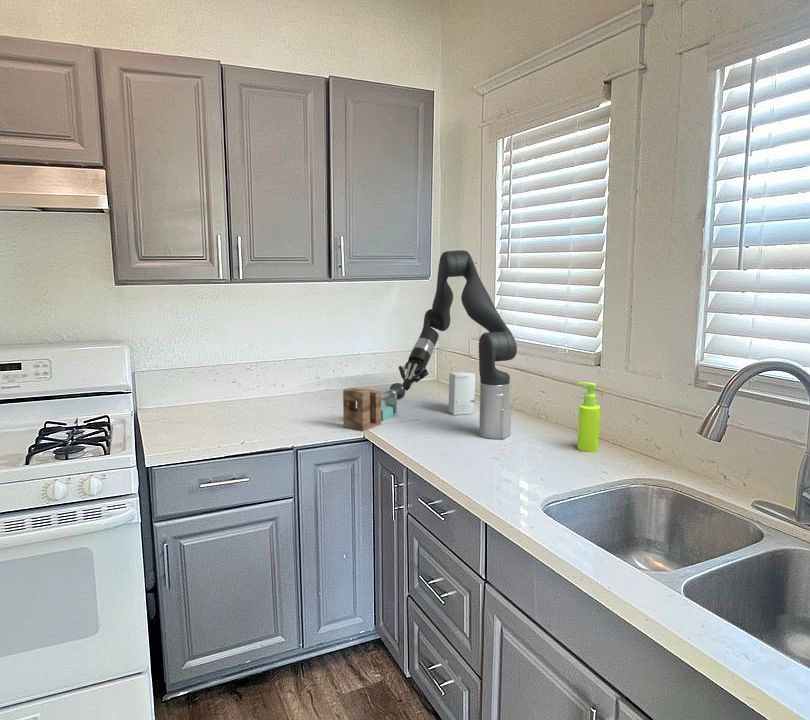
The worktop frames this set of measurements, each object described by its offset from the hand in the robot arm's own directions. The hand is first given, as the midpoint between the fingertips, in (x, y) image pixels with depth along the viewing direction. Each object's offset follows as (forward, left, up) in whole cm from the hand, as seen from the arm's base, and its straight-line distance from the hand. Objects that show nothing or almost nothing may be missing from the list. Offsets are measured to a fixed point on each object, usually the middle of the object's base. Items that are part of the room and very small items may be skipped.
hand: (404, 389), depth 226 cm
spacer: (0, +15, -8) cm, 17 cm away
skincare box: (-20, -7, -8) cm, 23 cm away
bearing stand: (0, +26, -8) cm, 27 cm away
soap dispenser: (-71, +11, -8) cm, 72 cm away
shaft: (0, +15, -7) cm, 16 cm away
